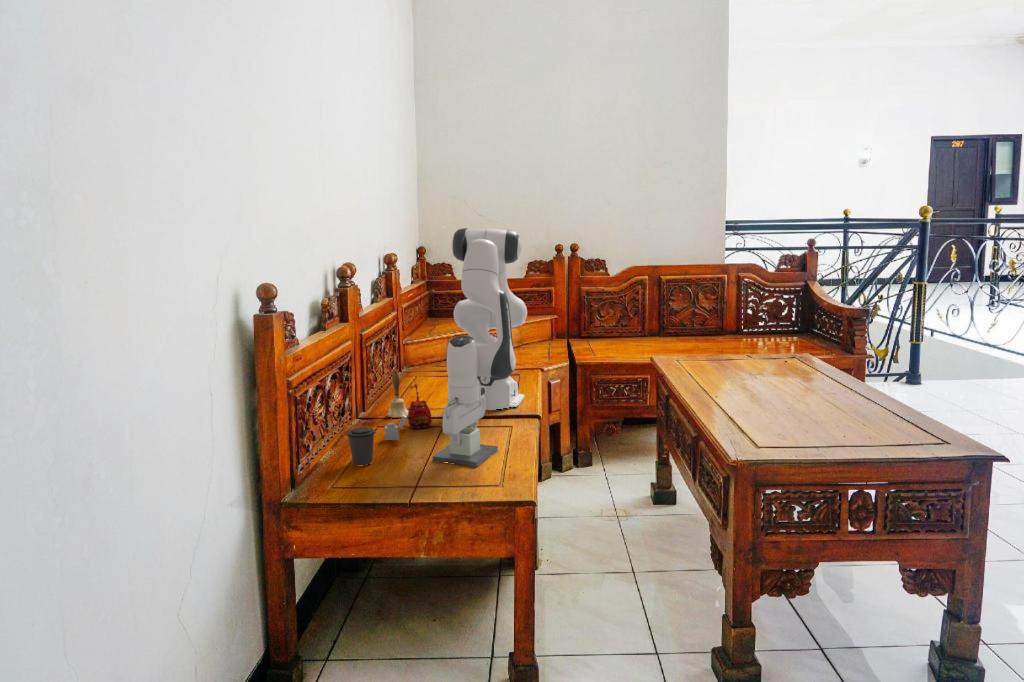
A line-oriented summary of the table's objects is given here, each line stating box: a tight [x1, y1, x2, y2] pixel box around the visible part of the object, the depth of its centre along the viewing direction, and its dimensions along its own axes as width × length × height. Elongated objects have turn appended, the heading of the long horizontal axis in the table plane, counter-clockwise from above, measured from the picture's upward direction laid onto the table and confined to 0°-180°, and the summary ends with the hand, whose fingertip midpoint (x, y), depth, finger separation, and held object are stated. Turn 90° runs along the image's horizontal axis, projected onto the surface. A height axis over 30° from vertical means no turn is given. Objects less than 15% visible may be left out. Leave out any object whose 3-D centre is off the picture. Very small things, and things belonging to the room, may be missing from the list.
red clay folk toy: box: [407, 380, 432, 430], centre depth 235 cm, size 8×7×15 cm
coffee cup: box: [346, 426, 376, 466], centre depth 204 cm, size 8×8×10 cm
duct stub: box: [431, 433, 499, 468], centre depth 208 cm, size 14×14×6 cm
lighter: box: [384, 414, 408, 441], centre depth 223 cm, size 7×2×8 cm, turn 92°
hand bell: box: [386, 369, 409, 417], centre depth 249 cm, size 8×8×16 cm
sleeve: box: [449, 427, 481, 456], centre depth 207 cm, size 6×6×6 cm
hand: (465, 440), depth 207 cm, fingers open, 8 cm apart
